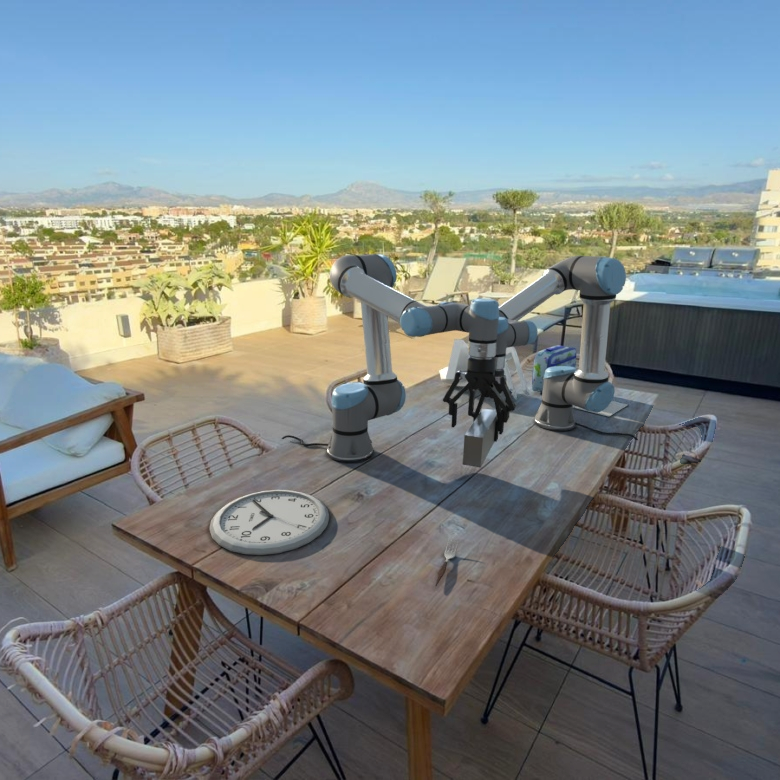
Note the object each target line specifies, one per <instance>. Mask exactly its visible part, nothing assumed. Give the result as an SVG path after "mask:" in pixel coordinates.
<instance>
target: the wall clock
mask: <svg viewBox="0 0 780 780" xmlns="http://www.w3.org/2000/svg"><path fill="white" fill-rule="evenodd" d="M329 521H330V514H329V509H328V507H327V506H326V505H325V504H324V503H323V502H322V501H321V500H320V499H318V498H317V497H315V496H313V495H310V494H308V493H304V492H301V491H295V490H291V489H290V490H288V489H272V490H270V489H269V490H262V491H258V492H252V493H249V494H246V495H244V496H240V497H238V498H235V499H234V500H231V501H230V502H229V503H226V504H225V505H224V506H223V507H222V508H221V509H219V510H218V511H216V513H215V514H214V516H213V517H212V518H211V521H210V524H209V533H210V536H211V539H212V540H213V541H214V542H215V543H216V544H217V545H218V546H219V547H222V548H224V549H226V550H228V551H230V552H234V553H237V554H243V555H254V556H266V555H274V554H275V555H276V554H281V553H285V552H289V551H292V550H296V549H298V548H301V547H304V546H305V545H307V544H309V543H311V542H313V541H314V540H316V539H317V538H318V537H319V536H321V535H322V534H323V532H324V531H325V530H326V529H327V527H328V525H329Z"/></svg>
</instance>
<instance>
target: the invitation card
mask: <svg viewBox="0 0 780 780" xmlns="http://www.w3.org/2000/svg"><path fill="white" fill-rule="evenodd" d="M628 406H629V404H627V403H623V402H618V401H614V400H612V401H611V403H610V404H609V405H608V407H607V408H606V409H604V410H603V411H601V412H592V411H587V410H585V409H582V408H580V407H577V406H574V407H573V409H575V410H581V411H584V412H587V413H593V414H596V415H600V416H604V417H608V418H609V417H611V416H613V415H614V414H616V413H617V412H619V411H621V410H623V409H624V408H626V407H628Z"/></svg>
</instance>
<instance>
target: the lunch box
mask: <svg viewBox="0 0 780 780" xmlns="http://www.w3.org/2000/svg"><path fill="white" fill-rule="evenodd" d="M576 362H577V348H576V347H571V346H565V345H553V346H550V347H546V348H545V349H542V350H539V351H538V352H537V353H536V354H535V356H534V358H533V365H532V376H531V377H532V378H531V390H532V391H533V392H537V393H541V394H542V391H543V380H544V379H543V378H544V375H545V370H546V369H547V368H549V367H555V366H570V367H575V368H576V364H577V363H576Z"/></svg>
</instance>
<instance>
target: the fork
mask: <svg viewBox="0 0 780 780" xmlns="http://www.w3.org/2000/svg"><path fill="white" fill-rule="evenodd" d="M449 543H450V545H449ZM455 543H456V546H455ZM452 544H453V545H452ZM458 545H459V541H457V542H456V541H454V542H453V541H451V542H450V540H448V542H447V544H446V548H445V551H444V557H445V561H444V562H443V564H442V566H441V567H440V569H439V571H438V575H437V577H436V578H437V579H436V582H435V587H437V586H438V585H439V583H440V581H441V579H442V577H443V576H444V574H445V573H446V570H447V565H448V561H449V560H451V559H454V558H455V556H456V555H457V550H458Z"/></svg>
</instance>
